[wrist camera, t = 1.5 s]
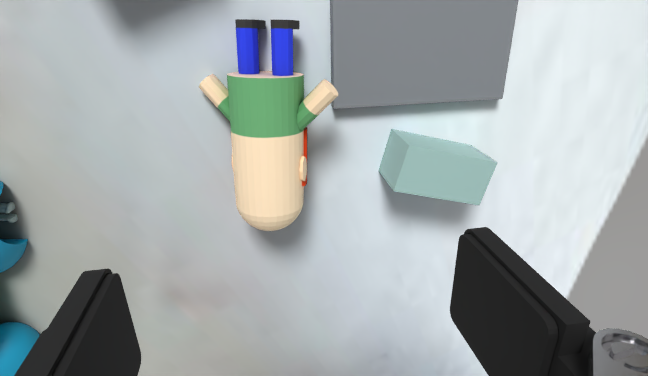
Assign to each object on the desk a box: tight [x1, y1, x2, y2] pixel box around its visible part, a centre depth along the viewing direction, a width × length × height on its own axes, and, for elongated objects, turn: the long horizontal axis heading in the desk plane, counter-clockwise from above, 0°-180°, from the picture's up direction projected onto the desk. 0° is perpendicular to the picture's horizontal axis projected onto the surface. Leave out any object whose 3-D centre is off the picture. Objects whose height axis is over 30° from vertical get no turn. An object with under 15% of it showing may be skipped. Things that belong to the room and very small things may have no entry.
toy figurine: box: [199, 20, 338, 231], centre depth 24 cm, size 8×4×12 cm
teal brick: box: [379, 129, 497, 205], centre depth 27 cm, size 6×3×4 cm, turn 76°
